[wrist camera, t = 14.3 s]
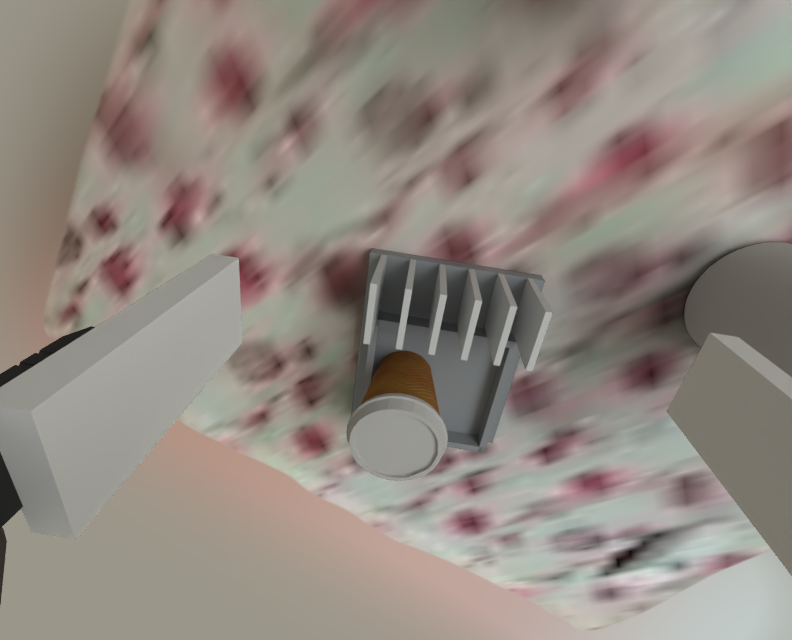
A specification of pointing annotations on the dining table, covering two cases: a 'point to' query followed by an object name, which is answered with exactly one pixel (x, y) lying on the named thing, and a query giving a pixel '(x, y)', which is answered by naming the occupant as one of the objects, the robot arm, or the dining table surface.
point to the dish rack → (453, 334)
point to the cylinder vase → (747, 301)
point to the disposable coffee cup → (398, 421)
